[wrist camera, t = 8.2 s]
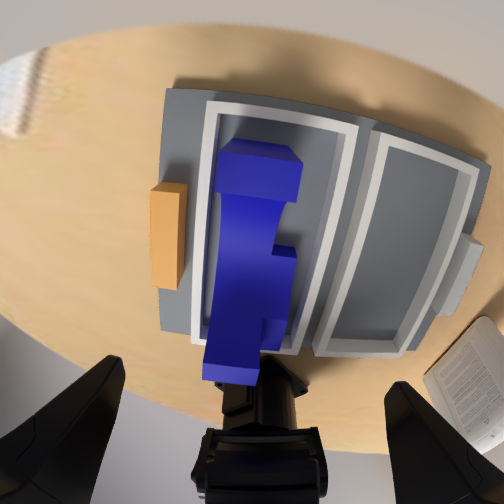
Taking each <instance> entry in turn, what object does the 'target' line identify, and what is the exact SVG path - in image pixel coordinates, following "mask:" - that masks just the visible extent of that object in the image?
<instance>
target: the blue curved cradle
mask: <svg viewBox="0 0 504 504" xmlns="http://www.w3.org/2000/svg"><path fill="white" fill-rule="evenodd" d="M303 164H304V163H303V162H302V161H301V160H300V159H299V158H298V157H297V156H296V154H295V153H294V152H293V151H292V150H291V149H290V148H289V147H288V146H287V145H281V144H274V143H267V142H261V141H253V140H245V139H237V138H232V139H231V140H230V141H229V142H228V143H227V144H226V145H225V146H224V147H223V148H222V149H221V150H220V151H219V153H218V162H217V171H216V180H215V190H214V192H218V193H220V194H221V221H220V235H219V247H218V257H217V267H216V276H215V284H214V292H213V300H212V307H211V315H210V322H209V328H208V335H207V341H206V347H205V353H204V359H203V370H202V380H208V381H215V382H223V383H232V384H241V385H251V386H256V382H257V378H258V374H259V370H260V350H268V351H280V347H281V344H282V340H283V337H284V333H285V329H286V326H287V322H288V314H289V305H290V297H291V290H292V283H293V277H294V272H295V267H296V262H297V255H296V251H295V247H290V246H283V245H275V244H274V240H275V236H276V231H277V227H278V224H279V220H280V217H281V214H282V211H283V209H284V206H285V204H286V203H287V202H292V203H296V202H297V196H298V191H299V186H300V181H301V175H302V170H303Z"/></svg>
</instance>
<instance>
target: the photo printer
mask: <svg viewBox="0 0 504 504" xmlns="http://www.w3.org/2000/svg"><path fill="white" fill-rule="evenodd" d="M423 382H424V384H425V387H426V389H427V391H428V393H429V396H430V398H431V400H432V403H433V405H434V408H435V410H436V411H437V412H438V413H439V414H440V415H441V416H442V417H443V418H444V419H445V420H446V421H447V422H449V423H450V424H451V425H452V426H453V427H454V428H455V429H456V430H457V431H458V432H459V433H460V434H461V435H462V436H463V437H464V438H465V439H466V440H467V442H469V443H470V444H471V445H472V446H473V447H474V448H475V449H476V450H477V451H478V452H479V453H480V454H483V453H485V452H487V451H488V450H490V449H492V448H494V447H495V446H497V445H498V444H499V443H501V442H502V441H503V440H504V336H503V335H502V334H501V332H500V331H499V330H498V328H497V327H496V326H495V324H494V323H493V322H492V320H491V319H490V318H489V317H487V316H482V317H480V318H478V319H477V320H476V321H475V322H474V323H473V324H472V325H471V326H470V327H469V328H468V329H467V331H466V332H465V333H464V334H463V335H462V336H461V337H460V339H459V340H458V341H457V342H456V343H455V344H454V345H453V346H452V347H451V348H450V349H449V350H448V352H447V353H446V354H445V355H444V356H443V357H442V358H441V359H440V360H439V361H438V362H437V363H436V364H435V365H434V366H433V367H432V368H431V369H430V370H429V371H428V372H427V373H426V374H425V376H424V377H423Z"/></svg>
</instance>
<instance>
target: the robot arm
mask: <svg viewBox="0 0 504 504" xmlns="http://www.w3.org/2000/svg"><path fill="white" fill-rule="evenodd" d="M124 382H125V370H124V366H123V362H122V359H121V358H120V357H118V356H114V355H108V356H106V357H105V358H104V359H102V360H101V361H100V362H99V363H97V364H96V365H95V366H94V367H92V368H91V369H90V370H89V371H87V372H86V373H85V374H84V375H83V376H81V377H80V378H79V379H77V380H76V381H75V382H74V383H72V384H71V385H70V386H69V387H67V388H66V389H65V390H63V391H62V392H61V393H60V394H58V395H57V396H56V397H55V398H54V399H52V400H51V401H50V402H49V403H47V404H46V405H45V406H44V407H42V408H41V409H40V410H39V411H37V412H36V413H35V414H34V415H32V416H31V417H30V418H28V419H27V420H26V421H25V422H23V423H22V424H21V425H20V426H18V427H17V428H15V429H14V430H13V431H11V432H9V433H8V434H6V435H5V436H3V437H2V438H0V504H90V500H91V497H92V493H93V490H94V486H95V483H96V479H97V476H98V473H99V469H100V466H101V463H102V459H103V457H104V453H105V450H106V447H107V444H108V441H109V438H110V435H111V432H112V429H113V427H114V424H115V420H116V417H117V413H118V408H119V404H120V399H121V394H122V390H123V386H124ZM215 386H216V387H217V388H219V389H220V390H221V391H223V392H224V395H223V404H222V413H223V414H224V419H223V429H222V430H220V429H214V428H207V430H206V434H205V435H204V436H203V437H202V442H201V448H200V451H199V456H198V459H197V461H196V463H195V466H194V468H193V470H192V472H191V479H192V481H193V482H194V483H195V484H196V488H197V493H198V496H199V498H202V499H205V504H319V498H322V497H325V496H326V493H327V488H328V470H327V463H326V459H325V455H324V451H323V447H322V443H321V439H320V435H319V431H318V427H310V428H306V429H297V421H296V411H295V400H294V398H296V397H299V396H301V395H304V394H306V393H307V392H308V387H307V386H306V385H305V384H304V383H303V382H302V381H300V380H299V379H298V378H297V377H296V376H295V375H294V374H293V373H291V372H290V371H289V370H288V369H287V368H286V367H285V366H284V365H283V364H282V363H281V362H279V361H278V360H277V359H276V358H275V357H274V356H272V355H268V356H265V357H263V358H261V359H260V370H259V374H258V378H257V382H256V386H251V385H241V384H232V383H223V382H215ZM384 406H385V418H386V432H387V441H388V447H389V453H390V459H391V466H392V472H393V481H394V488H395V497H396V504H504V473H503V472H502V471H501V470H499V469H498V468H497V467H496V466H495V465H493V464H492V463H491V462H489V461H488V460H487V459H486V458H485V457H484V456H482V455H481V454H480V453H479V452H478V451H477V450H476V449H475V448H474V447H473V446H472V445H471V444H470V443H469V442H467V440H466V439H465V438H464V437H463V436H462V435H461V434H460V433H459V432H458V431H457V430H456V429H455V428H454V427H453V426H452V425H451V424H450V423H449V422H447V421H446V420H445V419H444V418H443V417H442V416H441V415H440V414H439V413H438V412H437V411H436V410H435V409H434V408H433V407H432V406H431V405H430V404H429V403H428V402H427V401H426V400H425V399H424V398H423V397H422V396H421V395H420V394H419V393H418V392H417V391H416V390H415V389H414V388H413V387H412V386H411V385H410V384H409V383H407V382H406V381H398V382H395V383H394V384H393V385H392V387H391V388H390V390H389V391H388V392H387V394H386V395H385V398H384Z"/></svg>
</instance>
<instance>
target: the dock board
mask: <svg viewBox="0 0 504 504" xmlns="http://www.w3.org/2000/svg"><path fill="white" fill-rule="evenodd" d="M232 138H237V139H245V140H253V141H261V142H267V143H274V144H281V145H287V146H288V147H289V148H290V149H291V150H292V151H293V152H294V153H295V154H296V156H297V157H298V158H299V159H300V160H301V161H302V162H303V163H304V164H303V170H302V175H301V181H300V186H299V191H298V196H297V202H296V203H292V202H287V203H286V204H285V206H284V209H283V211H282V214H281V217H280V220H279V224H278V227H277V231H276V236H275V240H274V244H275V245H283V246H290V247H295V251H296V255H297V262H296V267H295V272H294V277H293V283H292V290H291V297H290V305H289V314H288V322H287V326H286V329H285V333H284V337H283V340H282V344H281V347H280V351H268V350H260V352H262V353H273V354H285V355H298V353H299V350H300V348H312V349H313V351H314V356H316V357H341V358H401V357H402V356H403V354H404V352H405V351H414V350H416V349H417V347H418V346H419V344H420V342H421V341H422V339H423V337H424V336H425V334H426V332H427V330H428V328H429V327H430V325H431V323H432V321H433V319H434V317H435V316H436V314H437V315H438V316H452V315H453V313H454V312H455V310H456V308H457V306H458V304H459V302H460V300H461V298H462V296H463V294H464V292H465V290H466V288H467V286H468V284H469V281H470V279H471V277H472V275H473V273H474V270H475V268H476V266H477V263H478V261H479V259H480V256H481V254H482V251H483V249H484V245H482V244H481V243H480V242H479V241H477V240H476V239H475V238H473V237H472V236H471V234H472V231H473V228H474V226H475V223H476V220H477V217H478V213H479V210H480V207H481V204H482V200H483V197H484V194H485V190H486V186H487V183H488V179H489V175H490V170H491V165H489V164H487V163H485V162H483V161H480V160H478V159H476V158H474V157H472V156H470V155H468V154H465V153H463V152H461V151H459V150H456V149H454V148H452V147H449V146H447V145H445V144H442V143H440V142H437V141H435V140H432V139H430V138H427V137H424V136H422V135H419V134H416V133H413V132H411V131H408V130H405V129H402V128H399V127H396V126H393V125H390V124H386V123H383V122H380V121H377V120H373V119H370V118H366V117H363V116H359V115H355V114H352V113H348V112H344V111H340V110H335V109H331V108H327V107H322V106H318V105H313V104H308V103H303V102H298V101H292V100H286V99H280V98H274V97H268V96H261V95H253V94H245V93H236V92H226V91H214V90H199V89H173V88H166V95H165V104H164V113H163V123H162V135H161V148H160V163H159V183H158V185H157V186H156V187H154V188H153V189H152V190H150V257H151V282H152V287H158V288H159V308H160V324H161V330H162V331H168V332H173V333H179V334H186V335H191V344H198V345H205V346H206V341H207V335H208V328H209V322H210V315H211V307H212V300H213V292H214V284H215V276H216V267H217V257H218V247H219V235H220V221H221V194H220V193H218V192H214V190H215V180H216V171H217V162H218V153H219V151H220V150H221V149H222V148H223V147H224V146H225V145H226V144H227V143H228V142H229V141H230V140H231V139H232Z"/></svg>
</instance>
